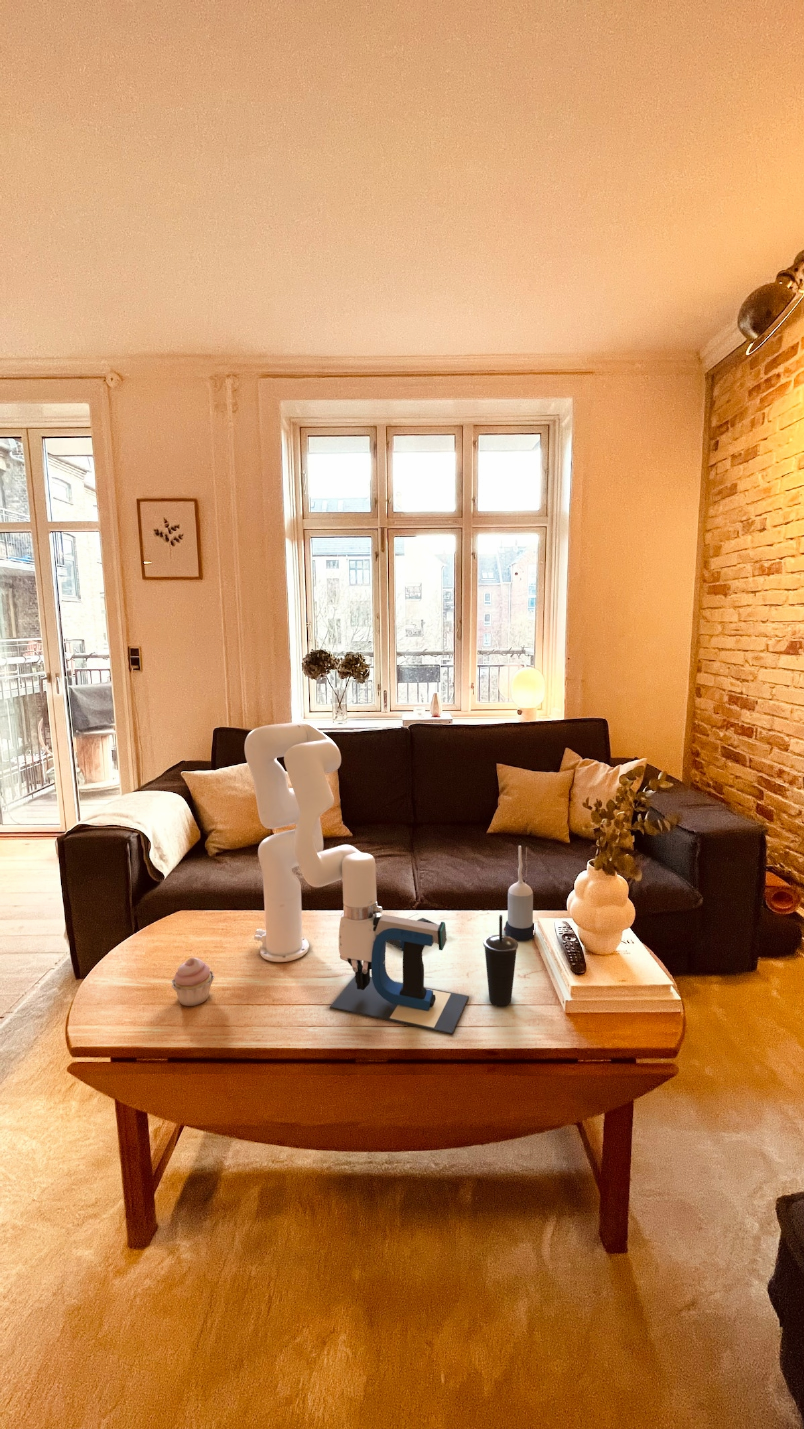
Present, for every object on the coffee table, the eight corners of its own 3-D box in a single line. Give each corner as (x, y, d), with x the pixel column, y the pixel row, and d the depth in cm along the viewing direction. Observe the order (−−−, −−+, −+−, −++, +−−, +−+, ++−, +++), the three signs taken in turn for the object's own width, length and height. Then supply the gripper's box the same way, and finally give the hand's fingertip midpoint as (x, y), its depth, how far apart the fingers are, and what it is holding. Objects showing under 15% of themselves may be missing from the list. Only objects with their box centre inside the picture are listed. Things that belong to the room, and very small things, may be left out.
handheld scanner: (440, 1015, 129) (443, 931, 126) (369, 1000, 134) (371, 919, 130) (444, 1002, 134) (448, 921, 130) (375, 987, 138) (377, 909, 134)
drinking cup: (509, 1015, 130) (510, 926, 127) (477, 1004, 134) (477, 918, 131) (522, 997, 136) (523, 912, 134) (491, 987, 140) (491, 905, 138)
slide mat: (329, 1008, 133) (329, 1006, 133) (356, 975, 146) (356, 974, 146) (452, 1034, 123) (452, 1032, 123) (468, 997, 136) (468, 995, 136)
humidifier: (501, 928, 169) (501, 842, 167) (529, 926, 170) (530, 840, 168) (509, 942, 161) (510, 852, 159) (539, 940, 162) (540, 850, 160)
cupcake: (163, 1006, 135) (160, 963, 133) (191, 984, 143) (189, 944, 142) (196, 1014, 131) (194, 971, 130) (223, 992, 140) (221, 951, 139)
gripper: (397, 906, 136) (399, 983, 138) (338, 898, 141) (341, 973, 143) (384, 920, 129) (387, 1001, 131) (322, 911, 134) (326, 989, 136)
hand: (363, 986), depth 137 cm, fingers closed
